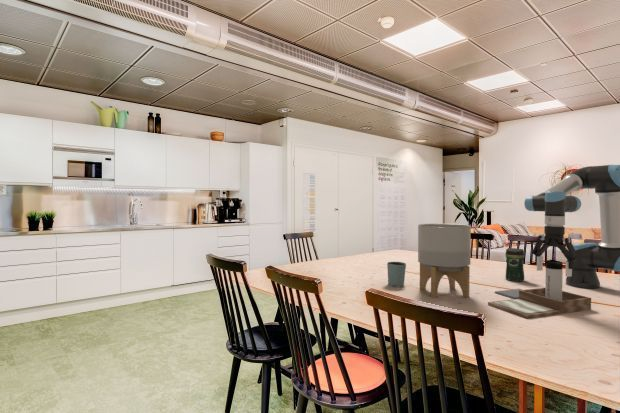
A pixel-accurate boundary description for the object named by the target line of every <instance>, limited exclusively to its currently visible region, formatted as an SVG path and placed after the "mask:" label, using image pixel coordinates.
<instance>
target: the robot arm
mask: <svg viewBox="0 0 620 413" xmlns="http://www.w3.org/2000/svg"><path fill="white" fill-rule="evenodd" d="M583 189H584V190H586V189H589V190H593V189H594V193H595V194H596V195H598V200H599V202H598V203H599V218H600V234H601V238H600V239H601V241H599V243H595V242H581V243H573V242H572V238H571V237H565V229H566V227H565V225H566V213H575V212H578V211H579V210H580V209H581V207H582V201H581V200H580V198H579V197H577V196H575V195H570V194H571V193H572V192H577V191H579V190H583ZM523 205H524V207H525V208H524V209H526V210H527V211H528V212H529V211H530V212H544V227H543V228H544V232H543V234H540V235H537V241H536V243H535V244H534V247H533V249H532V251H531V254H532V255H534V256H535V263H536V271H540V272H541V271H543V266H544V262H543V261H544V260H543V258H544V256H543V254H544V253H545V251H547V249H548V248H549V247H554V248H557V249H559V250H560V251H561V254H563V256H564V257H565V258H566V261H565V285H568V286H571V287H575V288H583V289H599V288H601V282H600V279H599V276H598V274H597V269H599V270H607V271H614V272H620V164H606V165H605V164H604V165H592V166H591V165H590V166H584V167H581V168H578V169H575V170H572V171H571V172H569V173H568V174H565V175H564V176H563V177H562V179H561V180H560V181H558V182H556V183H555V184H553V185H552V186H550V187H548V188H547V189H544V191H542V192H540V193H539V194H537V195H529V196H526V197H525V199H524V203H523ZM544 234H545V235H544Z"/></svg>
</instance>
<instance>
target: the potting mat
mask: <svg viewBox="0 0 620 413" xmlns="http://www.w3.org/2000/svg"><path fill="white" fill-rule="evenodd" d="M519 290H523V289H521V288H514V289H513V288H512V289H504V290H496V291H494V294H497V295H500V296H504V297H506V298H510V299H519Z"/></svg>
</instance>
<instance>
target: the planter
mask: <svg viewBox="0 0 620 413" xmlns="http://www.w3.org/2000/svg"><path fill="white" fill-rule="evenodd" d="M417 226H418V227H417V230H418V231H417V238H418V239H417V261H418V263H419V290H423V291H425V290H426V289H427V284H428V281H429V280H430V298H432V299H436V298H437V297H438V288H439V284H440V282H441V280H442V278H443V277H444V276H446V277H447V279H448V284H449V289H450V290H455V289H456V283H457V284H458V285H459V287H460V289H461V292H462V297H463V298H467V299H468V298H470V276H471V275H470V274H471V273H470V269H471V268H470V266H471V249H472V248H471V245H472V244H471V241H472V240H471V238H472V237H471V233H472V232H471V231H472V226H471V225H469V224H460V223H420V224H418V225H417Z"/></svg>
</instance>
